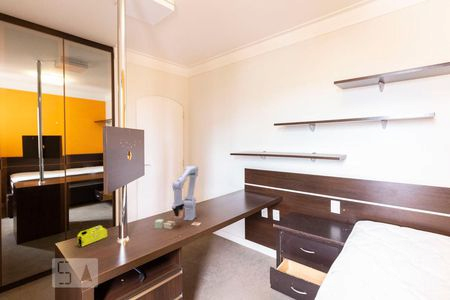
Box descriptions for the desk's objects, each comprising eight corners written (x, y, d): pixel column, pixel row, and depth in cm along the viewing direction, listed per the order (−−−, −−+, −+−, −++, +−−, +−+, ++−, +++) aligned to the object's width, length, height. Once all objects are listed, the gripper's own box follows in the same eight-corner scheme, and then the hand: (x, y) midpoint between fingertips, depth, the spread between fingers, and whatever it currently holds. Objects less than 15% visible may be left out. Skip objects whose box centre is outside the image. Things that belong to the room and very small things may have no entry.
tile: (194, 222, 173) (193, 221, 173) (201, 223, 171) (201, 222, 171) (191, 224, 168) (191, 224, 168) (198, 225, 167) (198, 224, 167)
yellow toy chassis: (102, 236, 151) (102, 224, 151) (107, 237, 148) (107, 225, 148) (77, 245, 137) (76, 232, 137) (82, 248, 134) (81, 234, 134)
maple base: (168, 225, 169) (168, 220, 169) (175, 226, 167) (175, 221, 167) (163, 228, 163) (163, 223, 163) (170, 229, 161) (170, 224, 161)
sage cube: (157, 225, 168) (157, 219, 168) (163, 225, 168) (163, 219, 167) (154, 228, 163) (154, 221, 163) (161, 228, 163) (161, 221, 162)
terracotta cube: (177, 215, 168) (177, 209, 168) (183, 216, 167) (183, 210, 167) (174, 218, 163) (174, 211, 163) (180, 218, 162) (180, 212, 162)
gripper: (177, 194, 173) (178, 211, 173) (168, 199, 159) (168, 217, 159) (186, 195, 171) (186, 212, 171) (177, 199, 157) (177, 218, 157)
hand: (178, 214), depth 165 cm, fingers closed on terracotta cube, 5 cm apart
